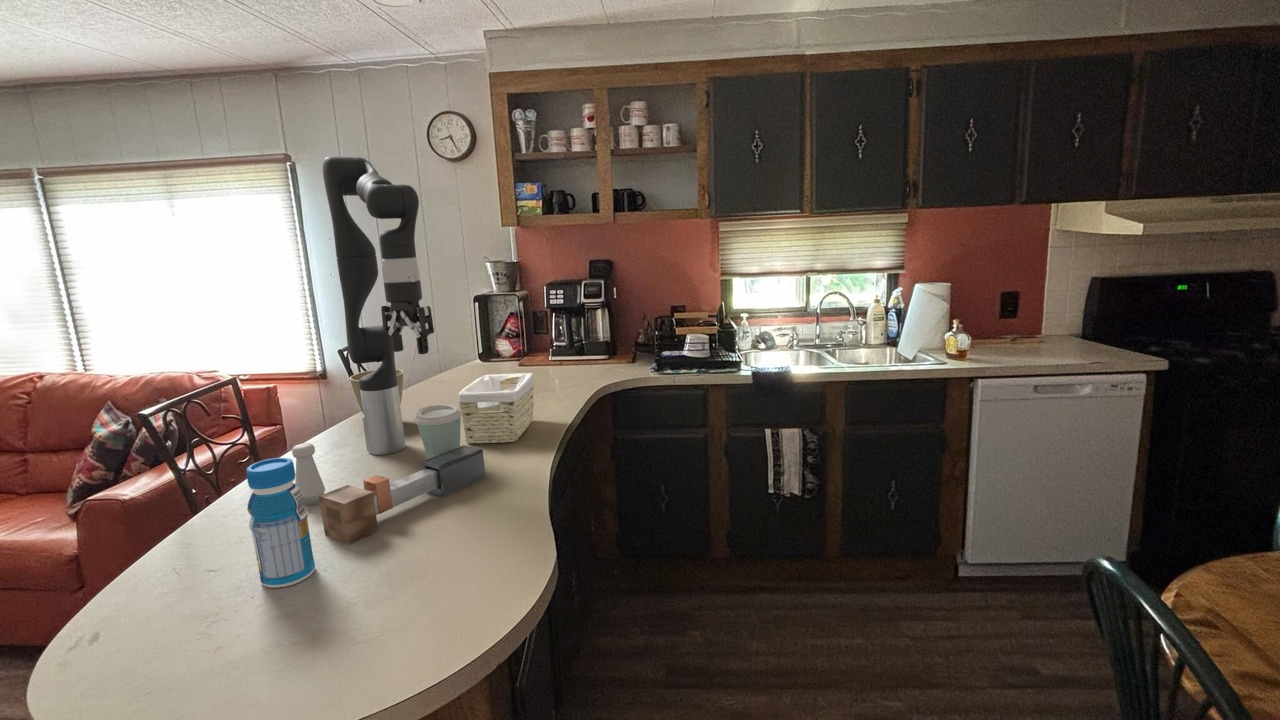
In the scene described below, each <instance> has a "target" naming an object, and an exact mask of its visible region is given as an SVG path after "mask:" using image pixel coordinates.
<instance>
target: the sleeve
mask: <svg viewBox="0 0 1280 720" xmlns="http://www.w3.org/2000/svg"><path fill="white" fill-rule="evenodd" d="M421 465H422V470H424V469H426V468H429V467H432V468H436V469H439V473H440V482H441V486H440V487H438V488H436V489H433V490H431V491H429V492H427V493H426V494H431V495H433V496H434V495H435V496H438V497H443V498H446V497H449V496H451V495H452V494H455V493H457V492H459V491H461V490H464V489H465V488H468V487H470V486H472V485H474V484H477V483H478V482H481V481H483V480H485V479H486V467H485V466H486V465H485V458H484V449H483V448H480V447H476V446H475V447H474V446H470V445H464V444H463V445H460V447H458V448H455V449H453V450H450V451H448V452H445V453H443V454H440V455H438V456H435V457H433V458H430V459H428V458H427V459H426V460H423V461H421Z"/></svg>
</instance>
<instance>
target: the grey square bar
mask: <svg viewBox="0 0 1280 720" xmlns="http://www.w3.org/2000/svg"><path fill="white" fill-rule="evenodd" d="M440 486H441V482H440V473H439V469H436V468H432V467H429V468H426V469H424V470H423V469H422V470H421V469H420V470H419V471H417V472H415V473H412V474H409V475H407V476H405V477H402V478H400V479H397V480H395V481H393V482H390V478H389V477H384V476H380V475H377V474H375V475H374V476H371V477H369V478H366V479H363V488H364V490H368V491H371V492H373V496H374V503H375V510H376V516H377V515H380V514H383V513H385V512H388V511H390V510H392V509H394V508H396V507H397V506H400V505H402V504H405V503H406V502H409V501H411V500H413V499H416V498H417V497H419V496H422V495H424V494H428V493H427V492H429V491H431V490H433V489H436V488H438V487H440Z"/></svg>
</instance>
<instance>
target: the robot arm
mask: <svg viewBox="0 0 1280 720" xmlns="http://www.w3.org/2000/svg"><path fill="white" fill-rule="evenodd" d="M322 161H323V162H322V176H323V183H324V188H325V194H326V197H327V202H328V206H329V211H330V216H331V222H332V229H333V236H334V237H333V239H334V247H335V255H336V256H335V257H336V263H337V269H338V270H337V271H338V276H339V277H338V278H339V282H340V287H341V293H342V299H343V308H344V318H345V320H344V321H345V328H346V329H345V331H346V341H347V343H346V344H347V349H348V350H347V351H348V354H349V358H350V360H351V362H352V363H353V364H356V365H357V364H358V365H359V364H361V365H362V364H367V363H368V364H369V363H377V362H381V364H380V365H379V366H378V367H377V368H376V369H374V370H375V371H373V372H371V373H369V374H367V375H365V376H363V377H362V378H361V379H360V380H359V385H360V392H361V399H362V406H363V413H364V415H362V422H363V423H362V425H363V431H364V437H365V445H366V450H367V451H368V453H369V454H371V455H377V456H378V455H379V456H380V455H382V456H383V455H389V454H394V453H397V452H400V451H402V450H403V449H405V448H406V440H405V431H404V423H403V422H404V421H403V416H402V415H403V414H402V409H401V406H400V399H399V391H398V385H397V384H398V383H397V377H396V369H397V368H396V362H395V361H396V360H395V353H398V352H402V351H404V344H403V335H402V331H403V328H404V327H408V328H409V329H410V330H412V331H413V333H414V334H415V336H416V339H415V340H416V346H417V354H418V355H426V354H429V339H428V336H429V335H432V334H434V332H435V329H434V321H433V317H432V316H433V315H432V308H431V307H430V305H425V306H421V305H420V301H421V300H422V299H423V291H422V282H421V274H420V268H419V263H418V259H417V251H416V243H415V242H416V241H415V234H416V233H415V232H416V224H417V219H418V217H417V216H418V213H419V206H420V200H419V196H418V193H417V191H416V190H415V188H414V187H413V186H411V185H409V184H393V183H392V182H391V181H390V180H388V179H386V178H385V177H382V176H380V174H379V173H378V171H377V170H376V168H375V167H374V166H373V165H372V163H371V162H370V161H369V160H367V159H366V158H363V157H358V156H327V157H325V158H324V160H322ZM344 196H345V197H347V196H357V197H358V198H359V199H360V200H361V201H362V202H363V203H364V204H365V205H366V208H367V209H366V210H367V212H368V214H369V215H370V216H371V217H373V218H374V219H380V220H390V219H392V220H393V219H395V220H396V219H400V223H399V225H398V226H397V227H396V228H392V229H390V230H385V231H383V232H381V233H380V235H379V246H380V252H381V261H382V264H381V265H382V267H381V270H382V271H381V272H382V278H383V279H382V280H383V287H384V295H385V301H386V302H387V303H389V304H387V305H382V306H380V311H381V320H382V325H375V326H365V327H360V319H361V315H362V311H363V309H364V306H365V303H366V301H367V299H368V297H369V296H370V294H371V292H372V291H373V288H374V287H375V284H376V282H377V280H378V276H379V268H378V267H379V266H378V258H377V252H376V247H375V246H374V244H373V242H372V241H371V240H370V238H369V237H368V236H367V234H365V232H364V231H363V230H362V229H361V228H360V227H359V225H358V224H357V222H356V221H355V220H354V218H353V217H352V216H351V213H350V212H349V210H348V208H347V205H346V202H345V199H344ZM426 324H427V326H426ZM363 413H362V414H363Z"/></svg>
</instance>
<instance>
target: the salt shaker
mask: <svg viewBox="0 0 1280 720" xmlns="http://www.w3.org/2000/svg"><path fill="white" fill-rule="evenodd" d="M291 453H292V456H293V457H294V458H296V459H295V480H294V481H295V483H294V484H295V485H296V486H297V487H298V488H299V489H300V490H301V492H302V493H303V495H304V501H303V505H304V506H305V507H306V506H315V505H316V504H319V503H320V500H319V496H320V495H323V494H325V492H326V487H325V484H324V482H323V479H322V477H321V475H320V471H319V470H318V467H317V465H316V462H315V459H314V456H313V455H314V454H315V453H316V447H315V445H314V444H312V443H309V442H305V443H299V444H297V445H294V446H293V447H292V449H291Z"/></svg>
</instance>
